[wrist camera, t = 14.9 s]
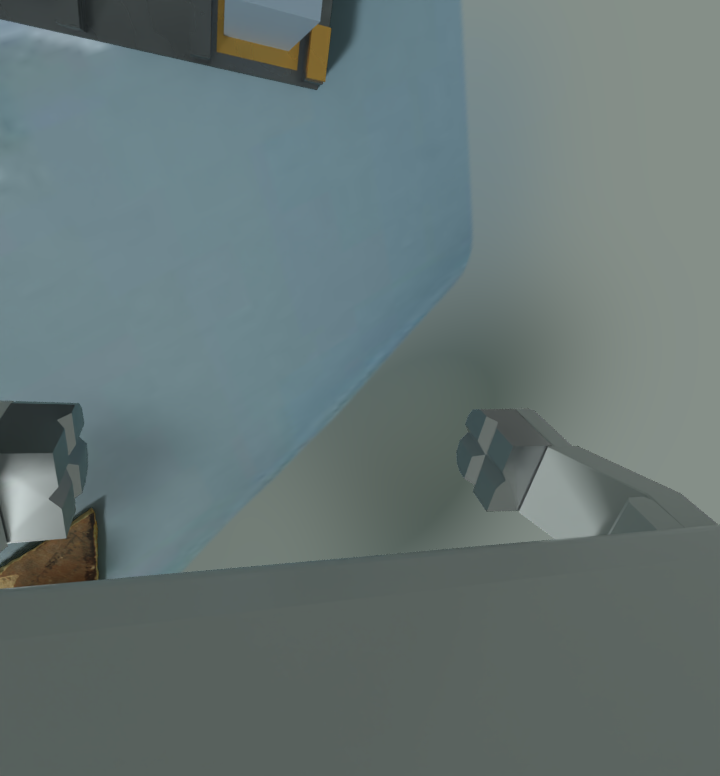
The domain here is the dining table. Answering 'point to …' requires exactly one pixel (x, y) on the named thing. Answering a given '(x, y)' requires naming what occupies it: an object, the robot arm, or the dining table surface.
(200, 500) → the dining table surface
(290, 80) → the rack
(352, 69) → the dining table surface
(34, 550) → the shard
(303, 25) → the blue-grey rectangular block
